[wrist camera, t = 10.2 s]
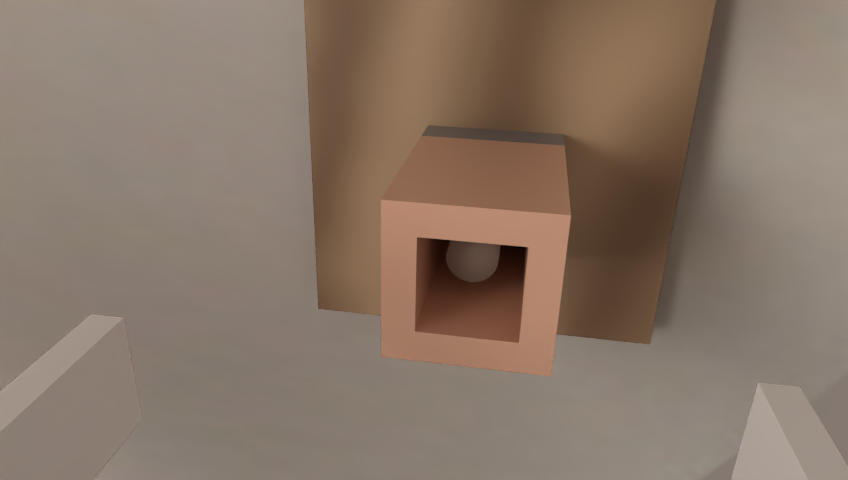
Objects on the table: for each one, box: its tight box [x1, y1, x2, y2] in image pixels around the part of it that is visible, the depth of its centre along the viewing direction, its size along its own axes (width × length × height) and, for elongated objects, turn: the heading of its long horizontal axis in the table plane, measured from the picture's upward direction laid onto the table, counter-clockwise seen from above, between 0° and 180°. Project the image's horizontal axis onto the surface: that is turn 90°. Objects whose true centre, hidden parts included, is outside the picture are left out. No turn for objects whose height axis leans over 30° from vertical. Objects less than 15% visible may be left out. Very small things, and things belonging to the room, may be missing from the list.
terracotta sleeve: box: [381, 125, 571, 376], centre depth 22 cm, size 5×5×8 cm
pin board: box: [304, 0, 716, 344], centre depth 22 cm, size 14×22×8 cm, turn 179°
